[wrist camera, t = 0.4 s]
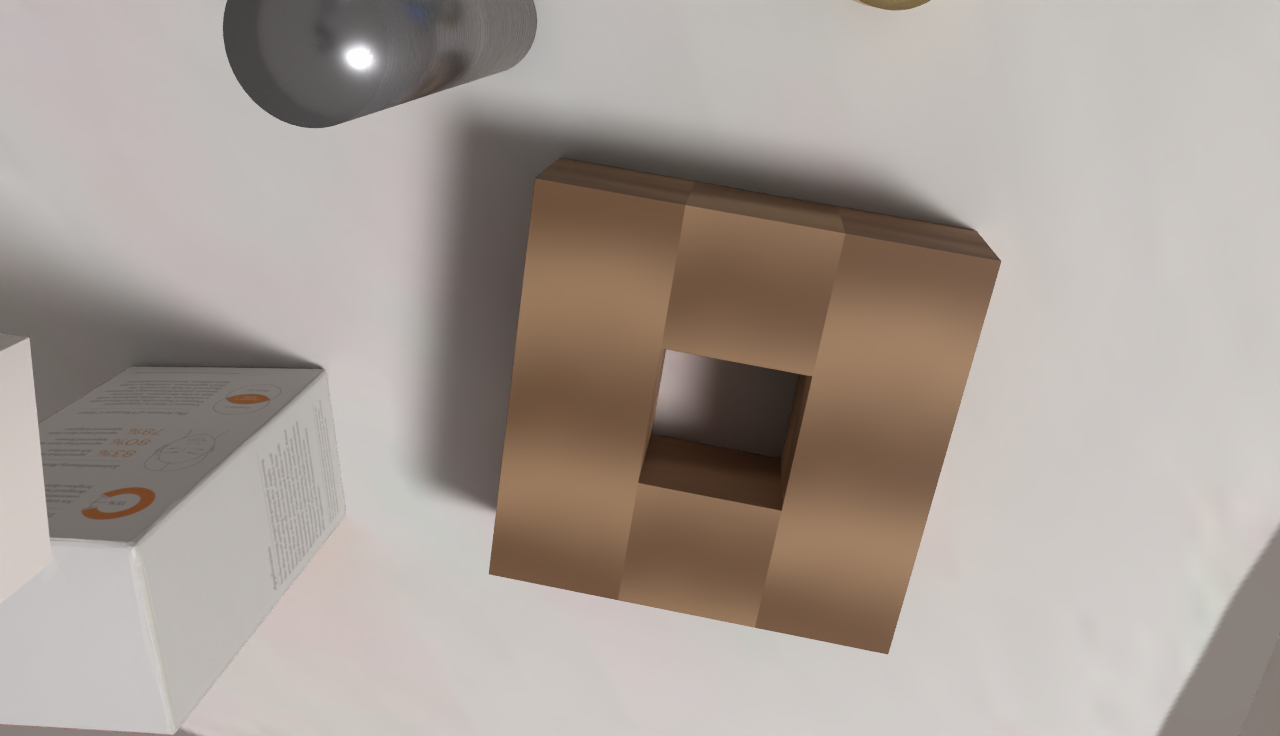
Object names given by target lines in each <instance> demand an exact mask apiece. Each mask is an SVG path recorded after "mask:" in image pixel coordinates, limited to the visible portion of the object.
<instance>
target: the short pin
mask: <svg viewBox="0 0 1280 736" xmlns="http://www.w3.org/2000/svg"><path fill="white" fill-rule="evenodd" d="M854 1H856V2H858V3H861V4H864V5H869V6H873V7H877V8H881V9H886V10H905V9H911V8H914V7H917V6H920V5H922V4H925V3H927V2H929V1H930V0H854Z"/></svg>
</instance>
